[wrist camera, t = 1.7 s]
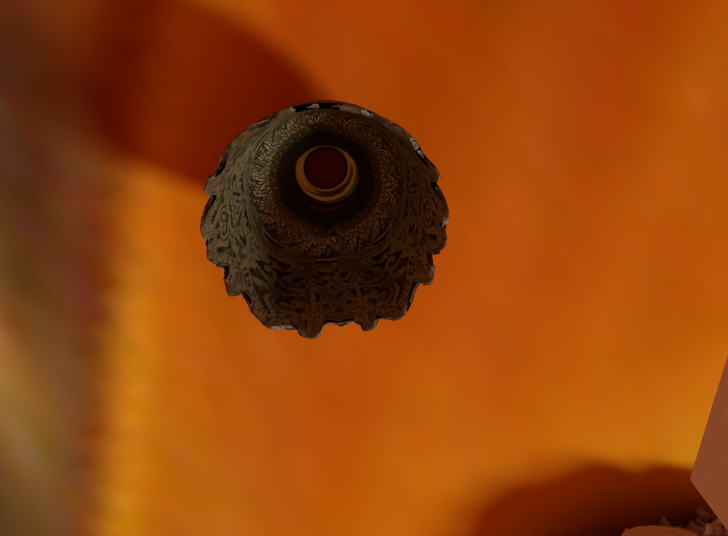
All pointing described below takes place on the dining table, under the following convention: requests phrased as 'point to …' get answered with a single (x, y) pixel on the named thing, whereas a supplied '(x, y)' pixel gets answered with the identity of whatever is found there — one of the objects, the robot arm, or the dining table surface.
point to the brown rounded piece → (324, 219)
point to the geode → (683, 527)
